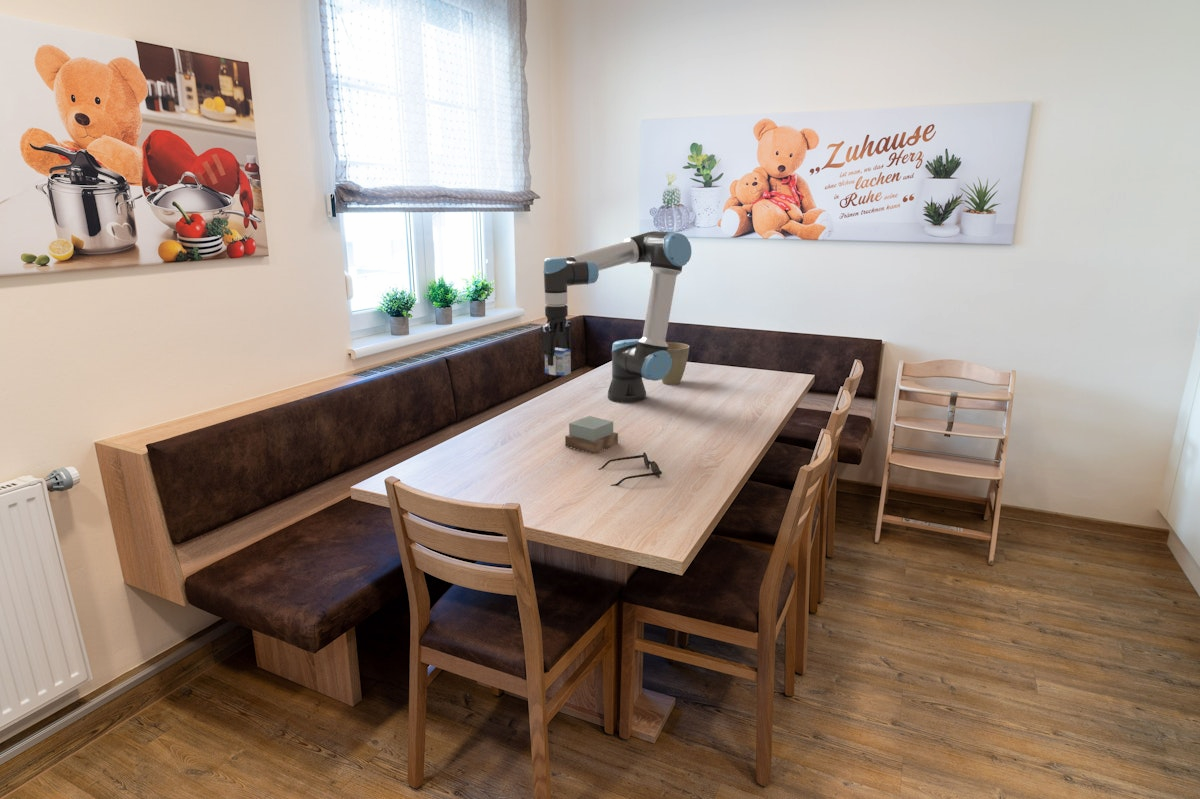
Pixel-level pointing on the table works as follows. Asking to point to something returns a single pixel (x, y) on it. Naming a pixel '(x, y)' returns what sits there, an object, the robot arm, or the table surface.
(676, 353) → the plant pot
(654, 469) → the eyeglasses
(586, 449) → the walnut slab
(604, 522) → the table surface
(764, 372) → the table surface
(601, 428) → the sage slab
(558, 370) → the medicine box
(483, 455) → the table surface
